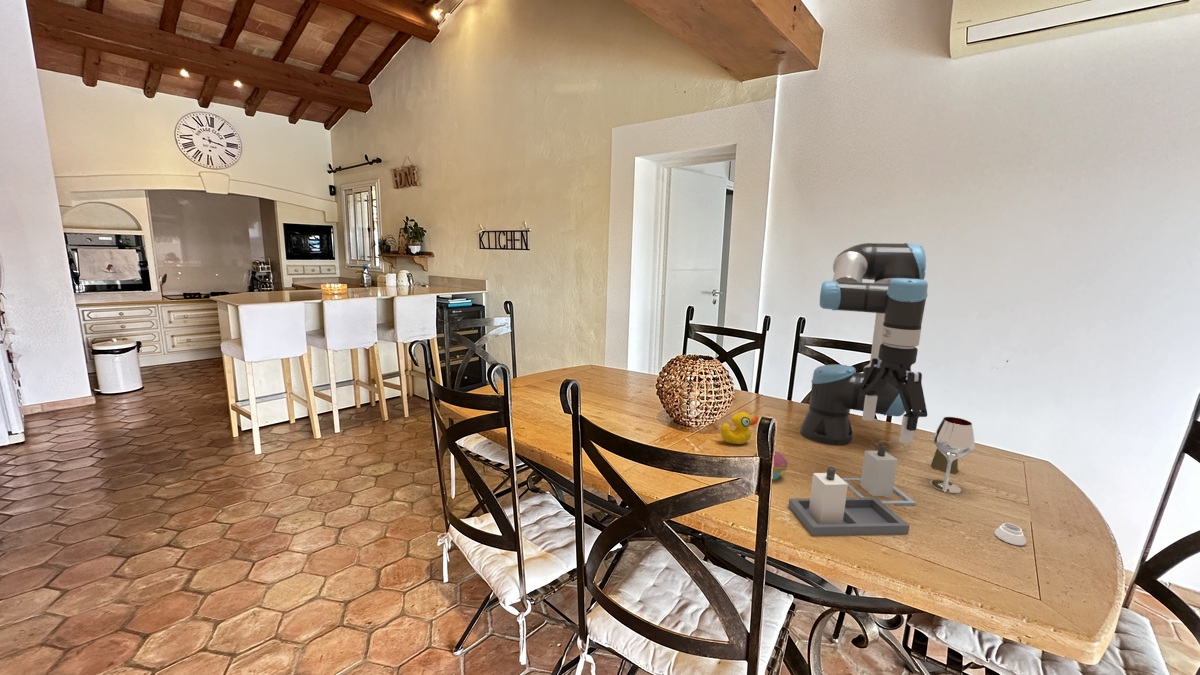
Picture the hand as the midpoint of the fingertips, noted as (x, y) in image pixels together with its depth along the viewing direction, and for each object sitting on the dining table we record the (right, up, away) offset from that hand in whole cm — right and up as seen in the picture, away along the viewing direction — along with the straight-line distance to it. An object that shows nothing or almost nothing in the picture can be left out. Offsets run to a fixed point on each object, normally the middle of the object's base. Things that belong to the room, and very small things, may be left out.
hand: (885, 430), depth 111 cm
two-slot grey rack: (-15, -18, -9) cm, 25 cm away
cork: (+27, -14, +17) cm, 35 cm away
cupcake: (-25, -15, +10) cm, 30 cm away
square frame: (0, -16, +3) cm, 17 cm away
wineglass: (+19, -16, +7) cm, 26 cm away
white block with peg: (0, -16, +3) cm, 17 cm away
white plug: (-20, -18, -10) cm, 28 cm away
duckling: (-27, -10, +30) cm, 42 cm away
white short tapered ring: (+17, -20, -14) cm, 30 cm away
